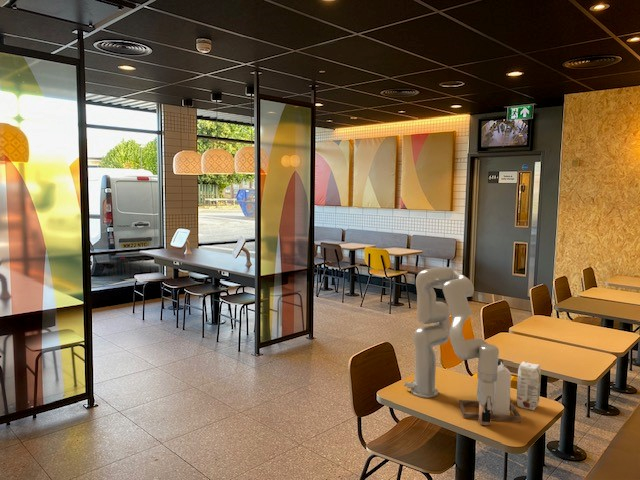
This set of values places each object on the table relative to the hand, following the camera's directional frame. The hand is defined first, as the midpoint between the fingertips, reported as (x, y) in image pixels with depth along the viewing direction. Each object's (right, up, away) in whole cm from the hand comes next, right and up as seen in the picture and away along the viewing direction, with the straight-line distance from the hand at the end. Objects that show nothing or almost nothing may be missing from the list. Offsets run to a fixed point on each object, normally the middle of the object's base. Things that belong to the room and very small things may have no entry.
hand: (484, 417), depth 194 cm
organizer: (+5, -2, +10) cm, 12 cm away
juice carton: (+25, -1, +17) cm, 30 cm away
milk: (+10, -2, +10) cm, 14 cm away
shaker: (0, -2, 0) cm, 2 cm away
